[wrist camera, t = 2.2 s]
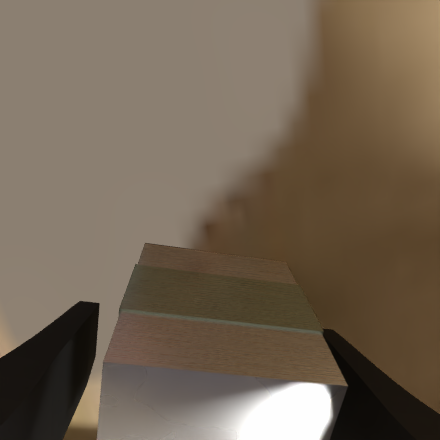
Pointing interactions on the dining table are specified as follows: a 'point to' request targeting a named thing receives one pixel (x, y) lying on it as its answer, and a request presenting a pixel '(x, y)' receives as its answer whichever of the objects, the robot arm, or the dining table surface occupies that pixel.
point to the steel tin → (217, 353)
